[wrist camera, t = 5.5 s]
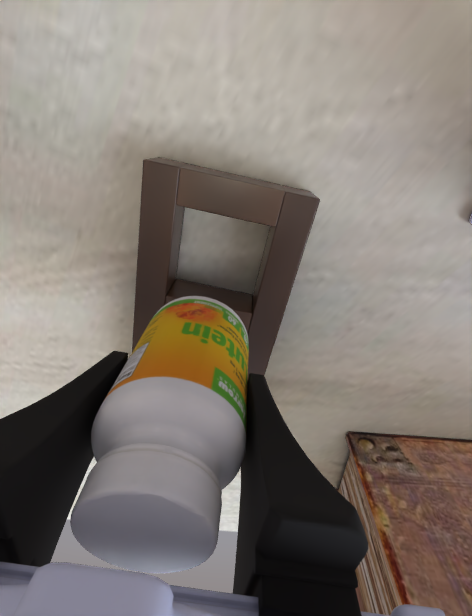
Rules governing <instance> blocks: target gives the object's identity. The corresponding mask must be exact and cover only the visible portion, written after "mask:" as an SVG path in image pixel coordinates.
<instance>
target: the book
mask: <svg viewBox="0 0 472 616" xmlns="http://www.w3.org/2000/svg"><path fill="white" fill-rule="evenodd" d="M346 441H347V444H348V447H349V450H350V455H349V459H348V462H347V465H346V468H345V471H344V475H343V478H342V481H341V484H340V487H339V489H336V490H337V491H338V492H339V493H340V494H341V495H342V496H344V497H345V498H346V499H347V500H348V501H349V502H350V503H351V504H352V505H353V506H354V507H355V508H356V510H357V512H358V515H359V517H360V520H361V522H362V525H363V528H364V530H365V534H366V537H367V541H368V551H367V553H366V555H365V557H364V558H363V560H362V561H361V562H360V564H359V565H358V567H357V568H356V570H355V572H356V576H357V580H358V587H357V588H355V589H356V593H357V598H358V602H359V606H360V611H362V612H369V613H376V614H383V615H391V613H392V611H393V610H394V608H396V607H397V606H399V605H404V604H408V605H417V606H424V607H431V608H438V609H441V610H442V611H444V613H445V616H472V440H460V439H446V438H432V437H418V436H404V435H390V434H376V433H362V432H348V433H347V435H346Z"/></svg>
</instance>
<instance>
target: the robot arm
mask: <svg viewBox="0 0 472 616" xmlns="http://www.w3.org/2000/svg"><path fill="white" fill-rule="evenodd" d="M469 222H470V224H471V225H472V214H471V216H470V219H469ZM127 360H128V353H125V352H118V351H113V352H112V353H110V354H109V355H107V356H106V357H105V358H103V359H102V360H101V361H99V362H98V363H97V364H95V365H94V366H93V367H91V368H90V369H88V370H87V371H86V372H84V373H83V374H81V375H80V376H79V377H77V378H76V379H74V380H73V381H71V382H70V383H68V384H66V385H65V386H63V387H62V388H60V389H59V390H57V391H55V392H54V393H52V394H50V395H49V396H47V397H45V398H43V399H41V400H39V401H38V402H36V403H34V404H32V405H30V406H28V407H26V408H23V409H21V410H19V411H17V412H15V413H13V414H10V415H8V416H6V417H4V418H2V419H0V616H445V613H444V611H442V610H441V609H438V608H431V607H424V606H417V605H408V604H404V605H399V606H397V607H396V608H394V610H393V611H392V613H391V615H383V614H376V613H369V612H362V611H360V606H359V602H358V598H357V593H356V589H355V588H357V587H358V580H357V576H356V572H355V570H356V568H357V567H358V565H359V564H360V562H361V561H362V560H363V558H364V557H365V555H366V553H367V551H368V541H367V537H366V534H365V530H364V528H363V525H362V522H361V520H360V517H359V515H358V512H357V510H356V508H355V507H354V506H353V505H352V504H351V503H350V502H349V501H348V500H347V499H346V498H345V497H344V496H342V495H341V494H340V493H339V492H338V491H337V490H336V489H335V488H334V487H333V486H332V485H331V484H330V483H329V481H328V480H327V479H326V478H325V477H324V476H323V475H322V474H321V473H320V471H319V470H318V469H317V468H316V467H315V465H314V464H313V463H312V462H311V461H310V459H309V458H308V457H307V455H306V454H305V453H304V451H303V450H302V449H301V447H300V446H299V444H298V443H297V441H296V440H295V438H294V437H293V435H292V434H291V432H290V430H289V429H288V427H287V425H286V423H285V422H284V420H283V418H282V416H281V414H280V412H279V410H278V408H277V406H276V404H275V402H274V400H273V397H272V395H271V393H270V390H269V388H268V385H267V382H266V379H265V377H264V376H263V375H260V374H254V373H249V377H248V382H247V424H246V448H245V455H244V459H243V462H242V465H241V495H240V511H239V525H238V539H237V552H236V564H235V576H234V587H233V594H231V593H223V592H216V591H210V590H202V589H195V588H188V587H180V586H173V585H168V583H166V582H164V581H163V580H161V579H160V578H158V577H155V576H152V575H148V574H144V573H139V572H132V571H124V570H117V569H110V568H103V567H95V566H88V565H81V564H73V563H67V562H66V563H65V562H64V563H62V562H61V563H59V562H58V563H57V562H54V563H53V562H51V563H50V561H51V559H52V556H53V553H54V550H55V548H56V545H57V542H58V540H59V537H60V535H61V532H62V530H63V527H64V525H65V522H66V519H67V517H68V514H69V512H70V509H71V507H72V505H73V502H74V500H75V497H76V495H77V492H78V490H79V488H80V485H81V483H82V481H83V478H84V476H85V474H86V471H87V469H88V467H89V465H90V463H91V461H92V459H93V457H94V454H93V450H92V445H91V431H92V426H93V422H94V419H95V417H96V415H97V413H98V411H99V409H100V406H101V405H102V403H103V401H104V399H105V397H106V396H107V394H108V392H109V391H110V390H111V388H112V386H113V384H114V383H115V381H116V379H117V378H118V376H119V374H120V372H121V371H122V369H123V367H124V365H125V364H126V362H127Z"/></svg>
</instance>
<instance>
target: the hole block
mask: <svg viewBox="0 0 472 616" xmlns="http://www.w3.org/2000/svg"><path fill="white" fill-rule="evenodd" d="M319 202H320V199H319V198H318V197H316V196H315V195H314V194H313V193H312V192H310V191H305V190H301V189H296V188H292V187H288V186H283V185H282V186H281V185H279V184H275V183H270V182H266V181H262V180H257V179H253V178H248V177H244V176H240V175H235V174H231V173H227V172H222V171H218V170H213V169H209V168H205V167H200V166H196V165H191V164H190V165H189V164H187V163H182V162H178V161H174V160H169V159H165V158H160V157H157V158H150V159H144V160H143V176H142V192H141V209H140V226H139V243H138V260H137V277H136V293H135V310H134V327H133V344H132V352H133V350H134V349H135V347H136V345H137V343H138V342H139V340H140V338H141V336H142V335H143V333H144V331H145V330H146V328H147V326H148V324H149V323H150V321H151V320H152V318H153V317H154V315H155V314H156V313H157V312H158V311H159V310H160V309H161V308H162V307H163V306H164V305H166V304H167V303H169V302H171V301H173V300H175V299H178V298H181V297H186V296H202V297H208V298H212V299H214V300H217V301H219V302H221V303H223V304H225V305H227V306H228V307H229V308H231V309H232V310H233V311H234V312H235V313H236V314H237V315H238V316H239V317H240V319H241V320H242V322H243V324H244V326H245V328H246V331H247V335H248V346H249V353H248V377H249V373H254V374H260V375H263V376H264V374H265V371H266V368H267V365H268V362H269V359H270V356H271V352H272V349H273V346H274V343H275V340H276V337H277V334H278V330H279V327H280V324H281V321H282V318H283V315H284V312H285V309H286V305H287V302H288V299H289V296H290V293H291V290H292V287H293V283H294V280H295V277H296V274H297V271H298V268H299V265H300V261H301V258H302V255H303V252H304V249H305V246H306V243H307V240H308V236H309V233H310V230H311V227H312V224H313V221H314V218H315V214H316V211H317V208H318V205H319ZM185 207H187V208H191V209H196V210H200V211H205V212H210V213H214V214H219V215H223V216H228V217H232V218H237V219H241V220H246V221H250V222H255V223H259V224H264V225H268V226H270V230H269V234H268V238H267V242H266V246H265V250H264V254H263V258H262V262H261V265H260V269H259V273H258V277H257V281H256V285H255V289H254V293H253V295H251V294H247V293H242V292H237V291H232V290H227V289H223V288H218V287H213V286H208V285H203V284H199V283H194V282H189V281H184V280H179V279H176V272H177V264H178V256H179V248H180V240H181V232H182V224H183V216H184V208H185Z"/></svg>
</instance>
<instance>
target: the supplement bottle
mask: <svg viewBox="0 0 472 616" xmlns="http://www.w3.org/2000/svg"><path fill="white" fill-rule="evenodd" d="M248 353H249V346H248V335H247V331H246V328H245V326H244V324H243V322H242V320H241V319H240V317H239V316H238V315H237V314H236V313H235V312H234V311H233V310H232V309H231V308H229V307H228V306H227V305H225V304H223V303H221V302H219V301H217V300H214V299H212V298H208V297H202V296H186V297H181V298H178V299H175V300H173V301H171V302H169V303H167V304H166V305H164V306H163V307H162V308H161V309H160V310H159V311H158V312H157V313H156V314H155V315H154V317H153V318H152V320H151V321H150V323H149V324H148V326H147V328H146V330H145V331H144V333H143V335H142V336H141V338H140V340H139V342H138V343H137V345H136V347H135V349H134V350H133V352H132V354H131V355H130V357H129V359H128V360H127V362H126V364H125V365H124V367H123V369H122V371H121V372H120V374H119V376H118V378H117V379H116V381H115V383H114V384H113V386H112V388H111V390H110V391H109V392H108V394H107V396H106V397H105V399H104V401H103V403H102V405H101V406H100V409H99V411H98V413H97V415H96V417H95V419H94V422H93V426H92V431H91V445H92V450H93V454H94V457H95V459H96V461H97V463H96V465H95V466H94V467H93V469H92V470H91V471H90V473H89V475H88V477H87V480H86V482H85V485H84V487H83V489H82V491H81V493H80V495H79V498H78V500H77V502H76V504H75V506H74V508H73V511H72V514H71V521H70V523H71V528H72V532H73V534H74V536H75V538H76V539H77V541H78V542H79V543H80V544H81V545H82V546H83V547H84V548H85V549H86V550H87V551H89V552H90V553H92V554H93V555H95V556H96V557H98V558H100V559H101V560H103V561H106V562H107V563H110V564H113V565H115V566H118V567H121V568H124V569H128V570H133V571H138V572H147V573H173V572H179V571H184V570H188V569H191V568H193V567H196V566H198V565H200V564H201V563H203V562H205V561H206V560H207V559H208V558H209V557H210V556H211V555H212V553H213V551H214V549H215V547H216V544H217V540H218V532H219V523H220V515H221V507H222V501H221V494H222V491H221V490H222V489H224V488H225V487H226V486H227V485H228V484H229V483H230V482H231V481H232V480H233V479H234V477H235V476H236V475H237V473H238V471H239V469H240V467H241V465H242V462H243V459H244V455H245V448H246V424H247V382H248Z"/></svg>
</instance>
